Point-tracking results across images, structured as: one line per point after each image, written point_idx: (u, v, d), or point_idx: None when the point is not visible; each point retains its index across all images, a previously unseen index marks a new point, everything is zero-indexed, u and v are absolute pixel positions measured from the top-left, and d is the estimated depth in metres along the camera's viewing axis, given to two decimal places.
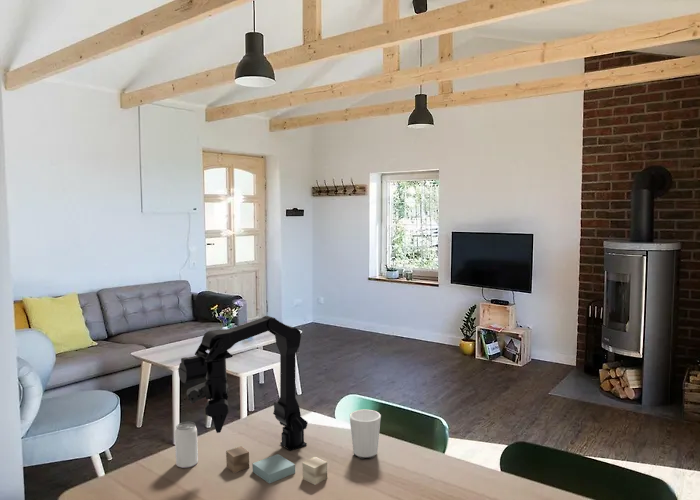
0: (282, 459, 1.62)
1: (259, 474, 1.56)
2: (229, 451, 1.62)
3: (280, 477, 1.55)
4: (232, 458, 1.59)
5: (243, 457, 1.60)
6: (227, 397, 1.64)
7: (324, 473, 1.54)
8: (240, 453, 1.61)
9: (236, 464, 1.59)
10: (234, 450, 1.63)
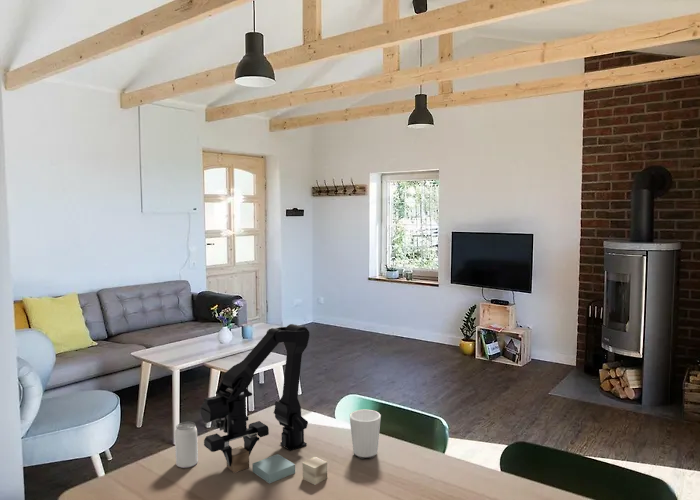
0: (282, 459, 1.62)
1: (259, 474, 1.56)
2: None
3: (280, 477, 1.55)
4: (232, 458, 1.59)
5: (244, 457, 1.60)
6: (251, 442, 1.61)
7: (324, 473, 1.54)
8: (240, 453, 1.61)
9: (236, 464, 1.59)
10: (234, 450, 1.63)
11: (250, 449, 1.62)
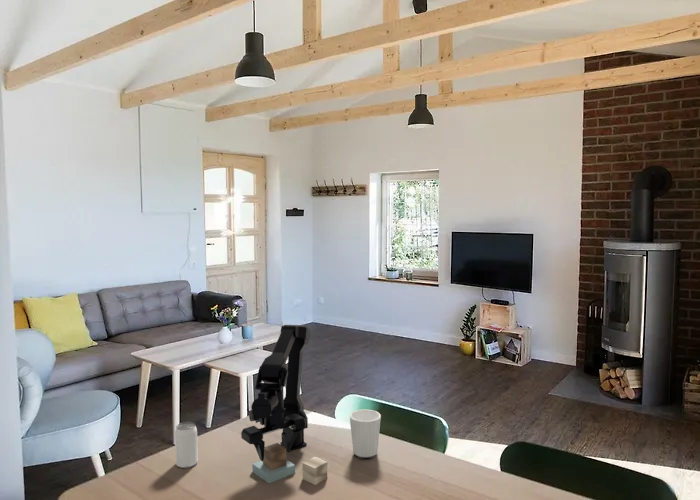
0: None
1: (259, 474, 1.56)
2: (266, 448, 1.58)
3: (280, 477, 1.55)
4: (269, 455, 1.55)
5: (281, 454, 1.57)
6: (293, 433, 1.59)
7: (324, 473, 1.54)
8: (277, 450, 1.57)
9: (273, 461, 1.55)
10: (271, 447, 1.59)
11: (292, 440, 1.60)
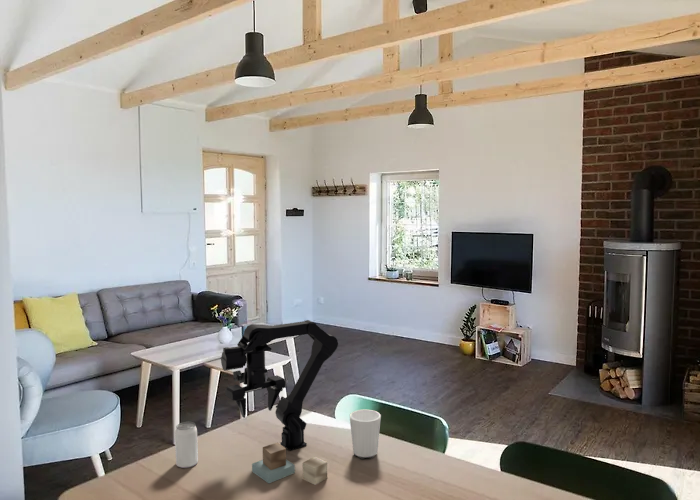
0: None
1: (259, 474, 1.56)
2: (266, 447, 1.58)
3: (280, 477, 1.55)
4: (269, 455, 1.55)
5: (280, 454, 1.57)
6: (275, 392, 1.70)
7: (324, 473, 1.54)
8: (277, 450, 1.57)
9: (273, 461, 1.55)
10: (271, 446, 1.59)
11: (274, 399, 1.71)
